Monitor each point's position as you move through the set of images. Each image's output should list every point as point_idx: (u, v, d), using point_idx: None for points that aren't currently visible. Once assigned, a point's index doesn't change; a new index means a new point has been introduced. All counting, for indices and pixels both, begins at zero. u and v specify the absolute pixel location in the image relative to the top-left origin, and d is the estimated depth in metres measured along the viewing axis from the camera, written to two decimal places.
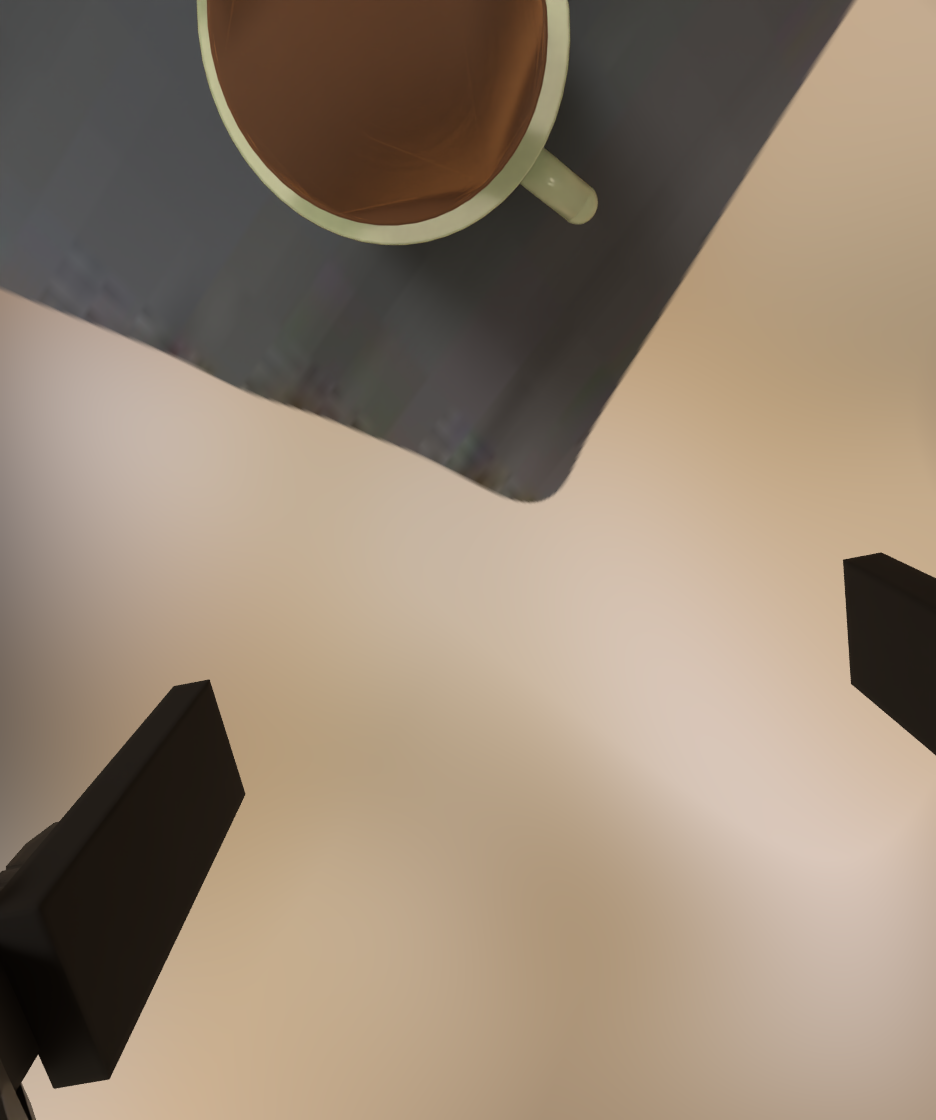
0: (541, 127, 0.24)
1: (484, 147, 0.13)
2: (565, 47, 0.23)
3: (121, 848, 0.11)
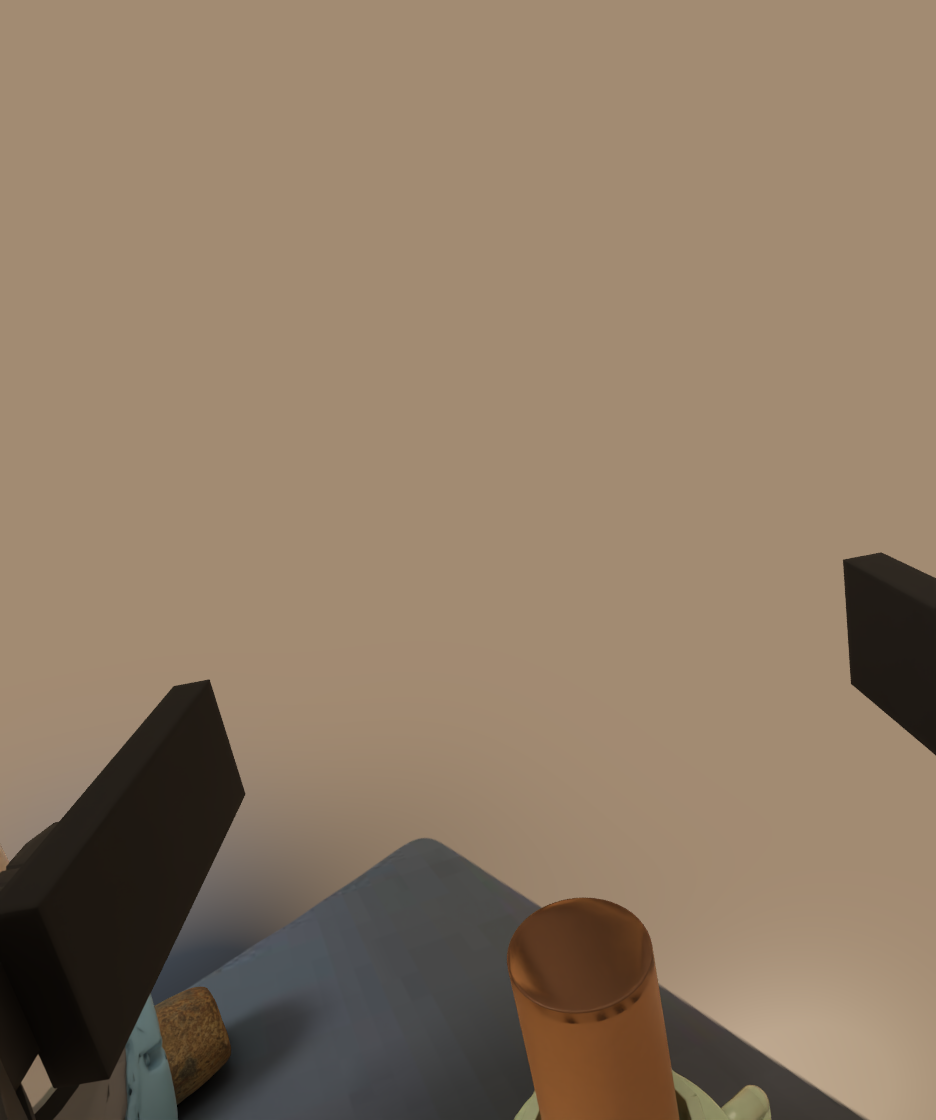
0: None
1: (627, 922, 0.30)
2: None
3: (121, 848, 0.11)
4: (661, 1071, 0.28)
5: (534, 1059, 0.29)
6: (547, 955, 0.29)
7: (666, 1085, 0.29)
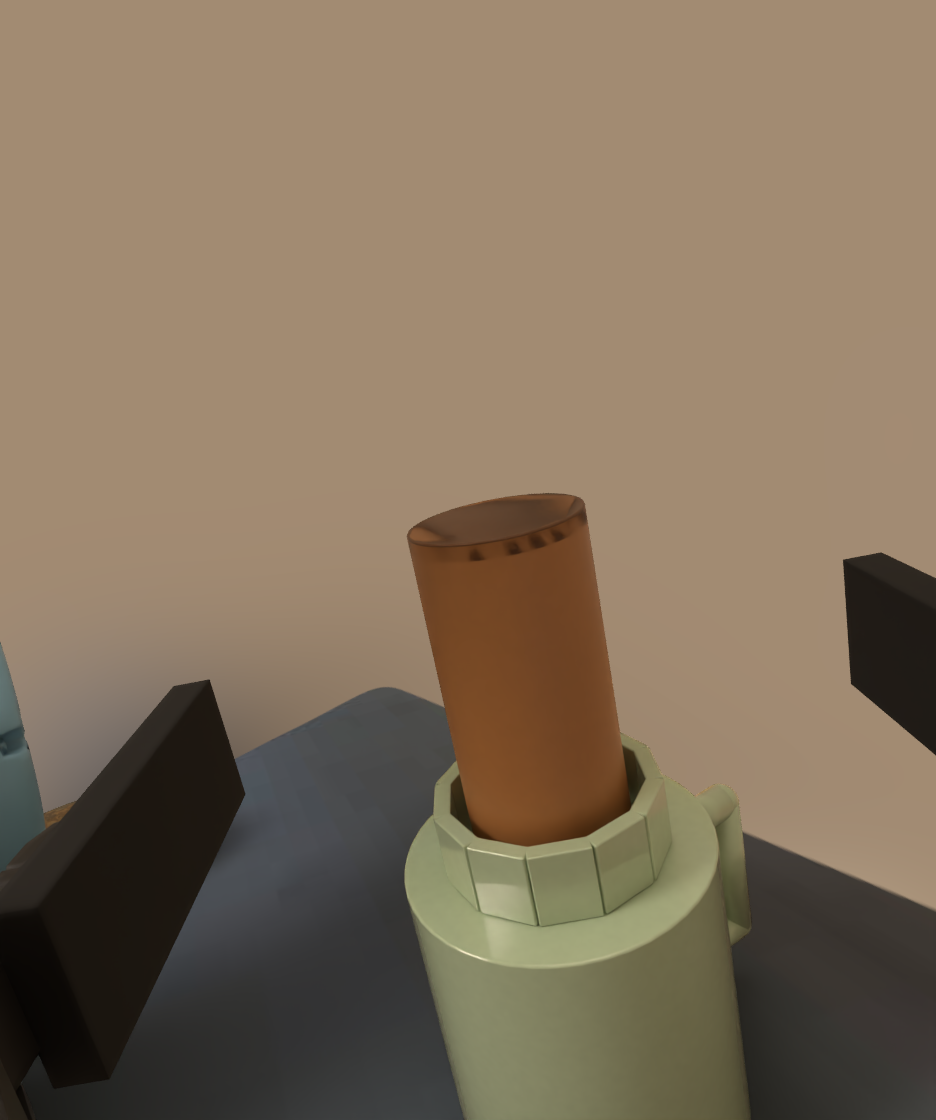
0: None
1: (557, 498, 0.24)
2: None
3: (121, 848, 0.11)
4: (595, 658, 0.23)
5: (438, 646, 0.23)
6: (456, 524, 0.23)
7: (603, 683, 0.23)
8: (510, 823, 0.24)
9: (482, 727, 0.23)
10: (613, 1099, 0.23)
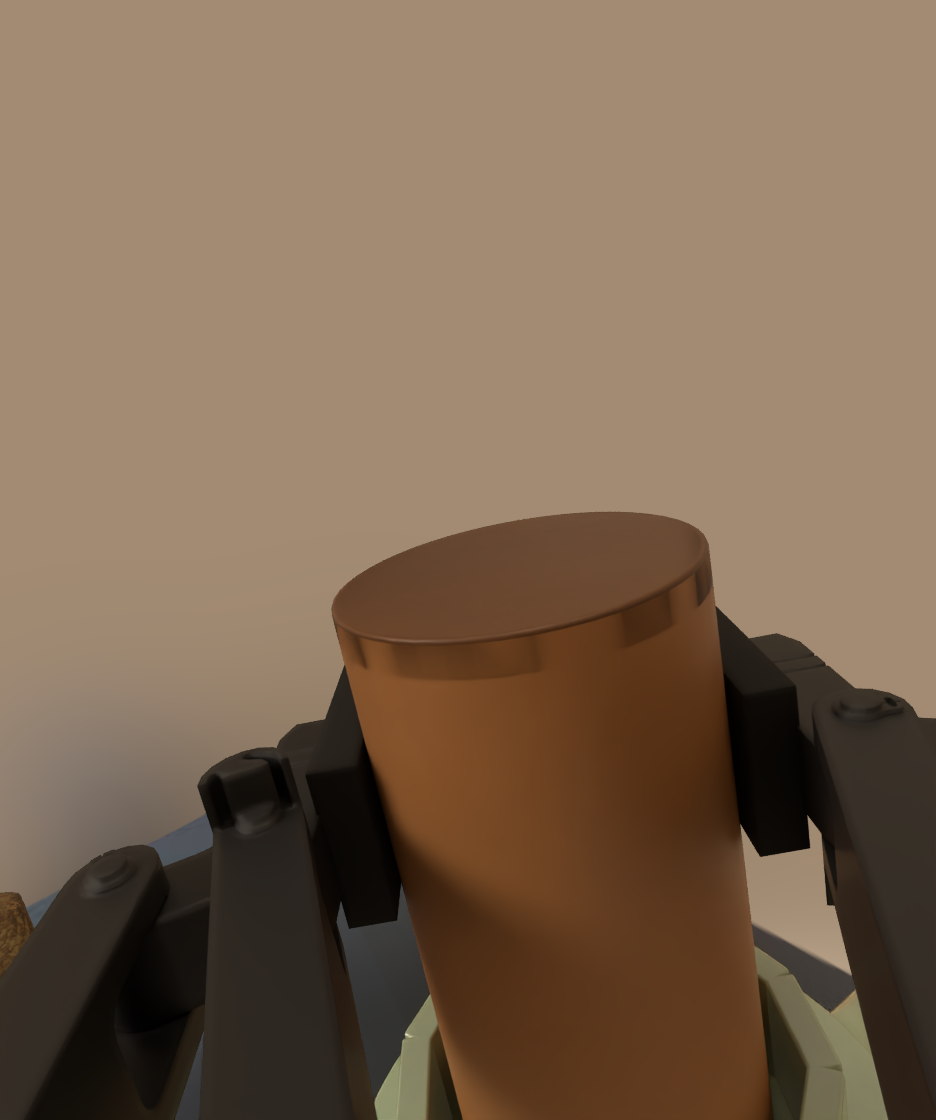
0: None
1: (638, 522, 0.12)
2: None
3: None
4: (729, 866, 0.11)
5: (397, 838, 0.11)
6: (435, 578, 0.11)
7: (741, 909, 0.11)
8: None
9: (490, 1016, 0.11)
10: None
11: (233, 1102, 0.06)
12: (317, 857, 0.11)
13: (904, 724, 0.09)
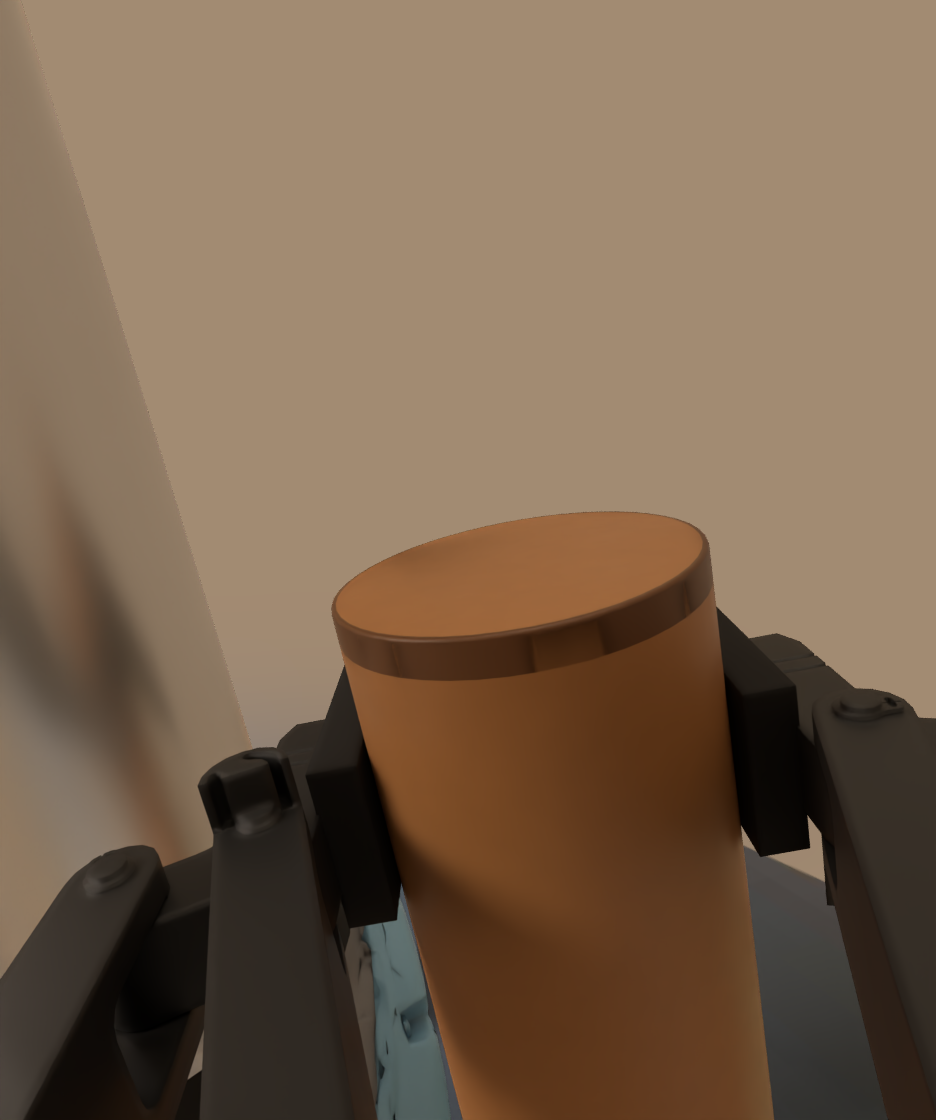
0: None
1: (638, 522, 0.12)
2: None
3: None
4: (730, 866, 0.11)
5: (397, 838, 0.11)
6: (435, 578, 0.11)
7: (742, 910, 0.11)
8: None
9: (489, 1016, 0.11)
10: None
11: (233, 1102, 0.06)
12: (317, 857, 0.11)
13: (904, 724, 0.09)
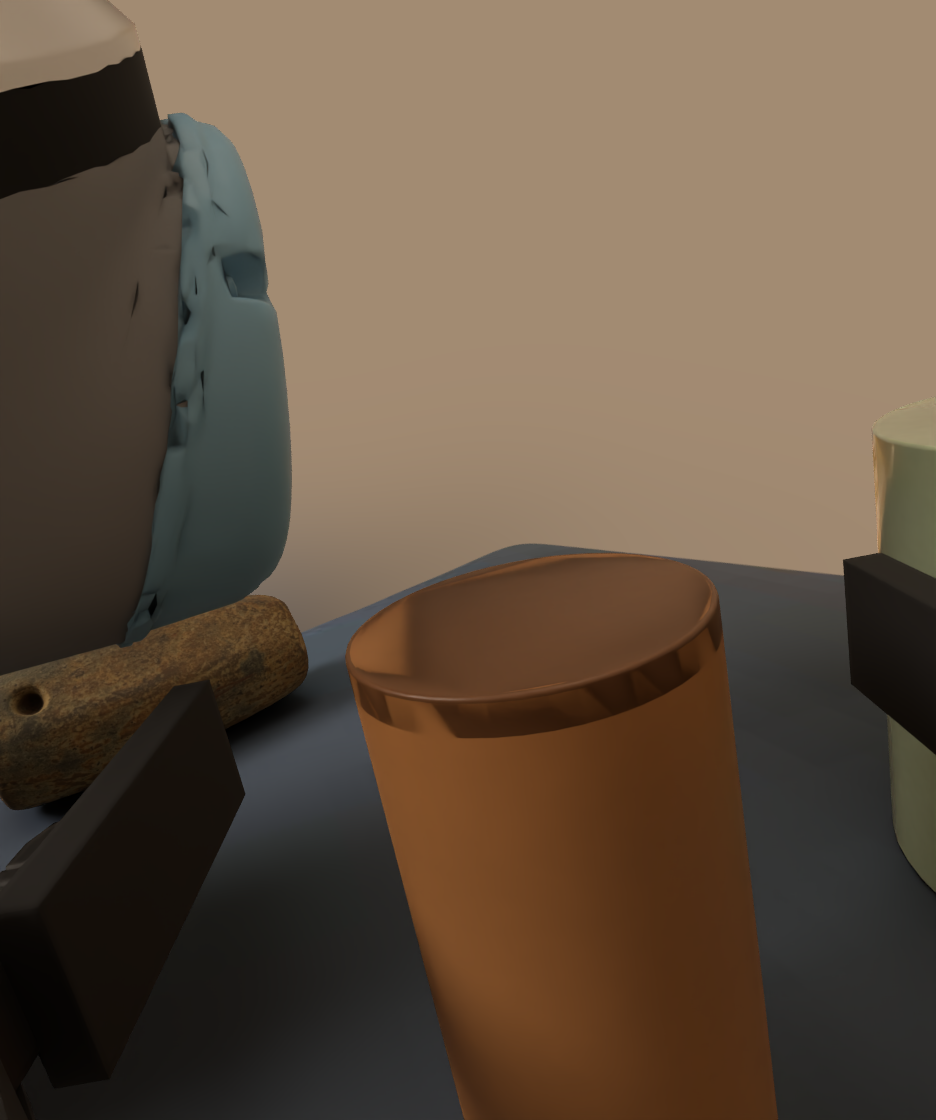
0: None
1: (648, 567, 0.12)
2: None
3: (121, 848, 0.11)
4: (739, 912, 0.11)
5: (411, 884, 0.11)
6: (447, 626, 0.11)
7: (750, 953, 0.11)
8: None
9: (502, 1062, 0.11)
10: None
11: None
12: None
13: None
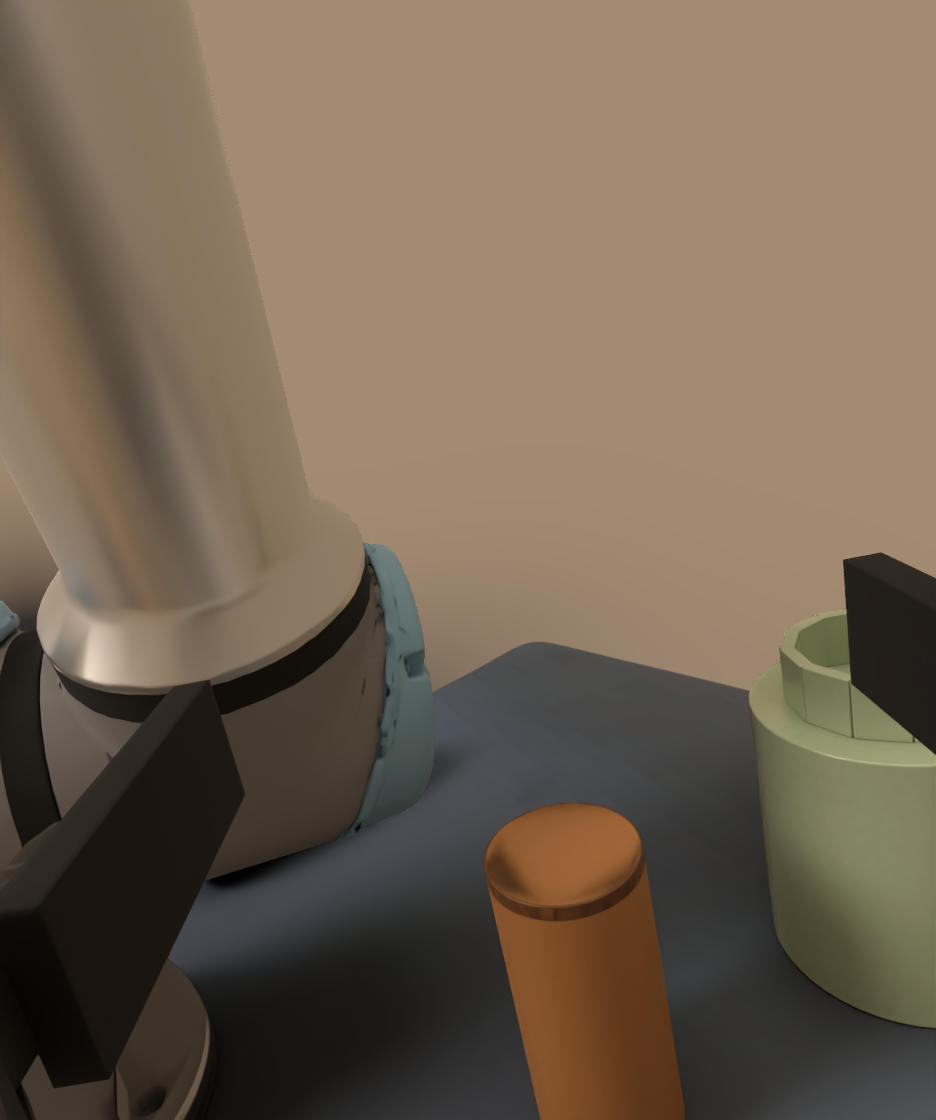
0: None
1: (615, 823, 0.27)
2: None
3: (121, 848, 0.11)
4: (652, 982, 0.26)
5: (513, 969, 0.26)
6: (527, 856, 0.26)
7: (659, 999, 0.26)
8: None
9: (553, 1045, 0.26)
10: None
11: None
12: None
13: None
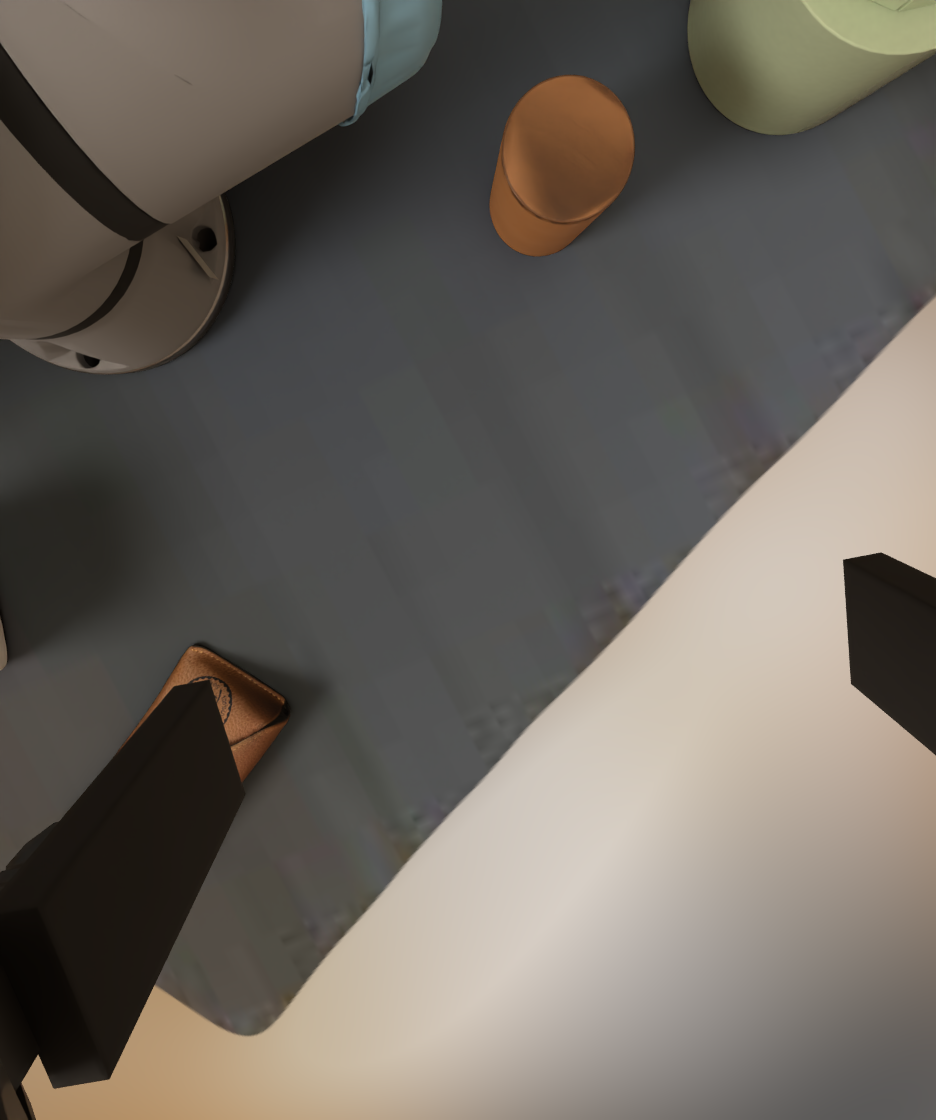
0: None
1: (615, 115, 0.31)
2: None
3: (121, 848, 0.11)
4: None
5: (511, 211, 0.35)
6: (540, 157, 0.32)
7: None
8: (527, 248, 0.41)
9: (528, 236, 0.38)
10: (862, 92, 0.36)
11: None
12: None
13: None
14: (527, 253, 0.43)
